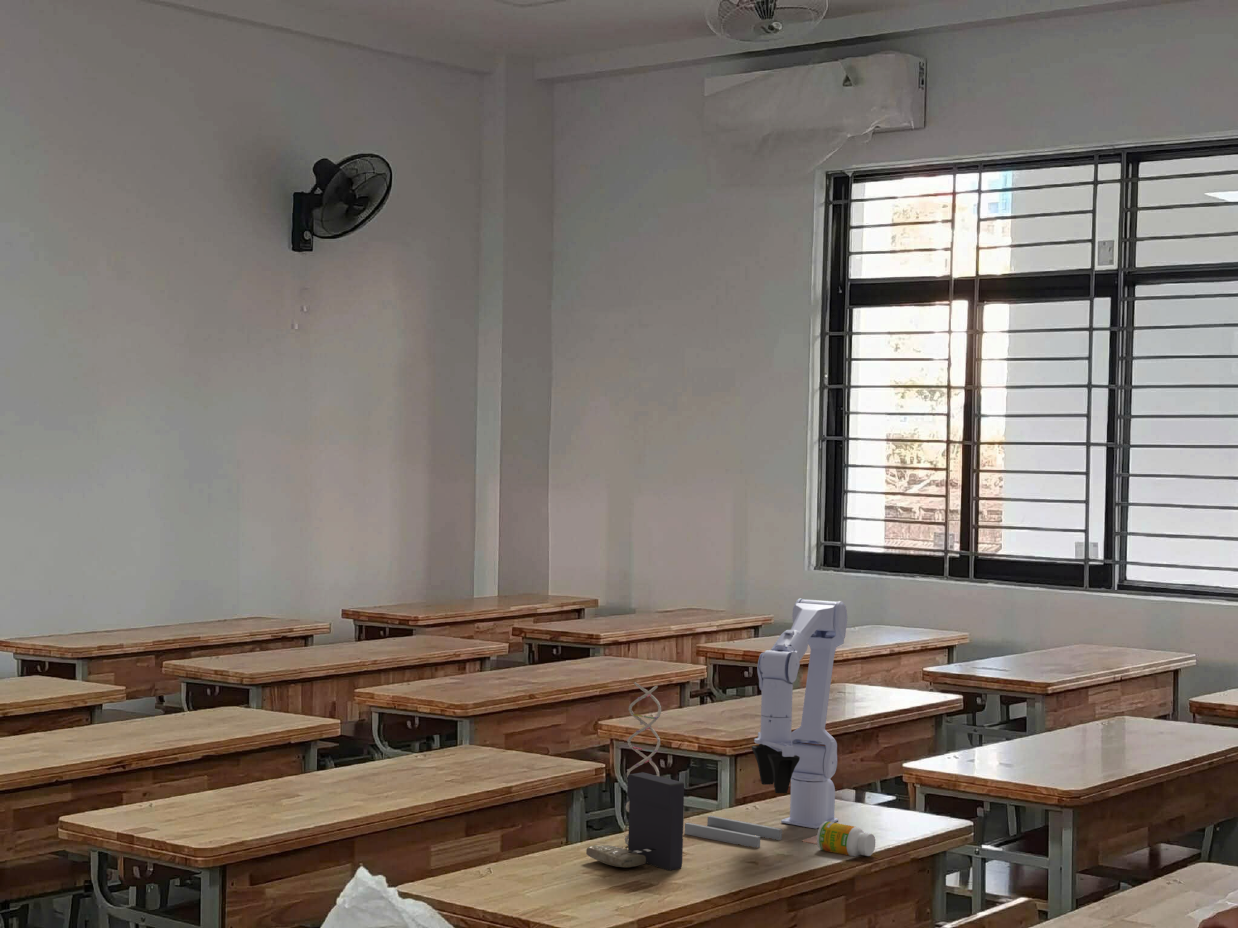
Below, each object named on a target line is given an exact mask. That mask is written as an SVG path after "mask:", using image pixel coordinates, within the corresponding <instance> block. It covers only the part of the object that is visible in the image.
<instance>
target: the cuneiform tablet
mask: <svg viewBox="0 0 1238 928" xmlns="http://www.w3.org/2000/svg"><path fill="white" fill-rule="evenodd" d="M655 850H656V849H653V848H650V849H643V850H636V851H630V850H628V849H626V848H622V847H618V846H614V845H597V844H596V845H591V846H589V847H587V848H586V855H587V856H588V857H590V858H591V859H594V860H596V861H598V862H600V863H603V864H605V865H608V866H613V867H618V868H633V867H638V866H642V865H644V864H646V863H645V862H646V857H645V856H644V855H640V854H638V853H640V852H647V851H655Z"/></svg>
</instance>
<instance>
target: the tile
mask: <svg viewBox="0 0 1238 928" xmlns="http://www.w3.org/2000/svg"><path fill="white" fill-rule="evenodd" d="M802 841H803V842H802ZM801 842H802V843H806V842H807V844H812V843H813V844H814V845H818V844H817V834H816V835H813V836H810V837H808V838H805V839H803V840H802V839H801Z"/></svg>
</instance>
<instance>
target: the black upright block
mask: <svg viewBox="0 0 1238 928" xmlns="http://www.w3.org/2000/svg"><path fill="white" fill-rule="evenodd" d="M656 775H657V774H651V773H647V772H643V771H641V772H636V773H630V774H629V775H628V778H627V786H626V787H627V789H626V790H627V793H626V795H627V798H628V802H629V812H628V834H629V836H628V845H627V850H630V851H636V850H643V849H650V848H653V849H656V850H655V851H647V852H640V853H638V854H640V855H644V856H645V857H646V862H645V864H647V865H649V866H653V867H656V868H660V869H663V870H666V871H668V872H669V871H673V870H679V869H681V868H682V866H683V865H682V864H683V855H684V854H683V851H684V838H683V837H684V827H685V822H684V821H685V809H684V807H685V806H684V805H685V803H684V802H685V800H684V799H685V784H684V782H683V781H679V780H676V779H671V778H667V777H662V776H660V775H659V776H656Z"/></svg>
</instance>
